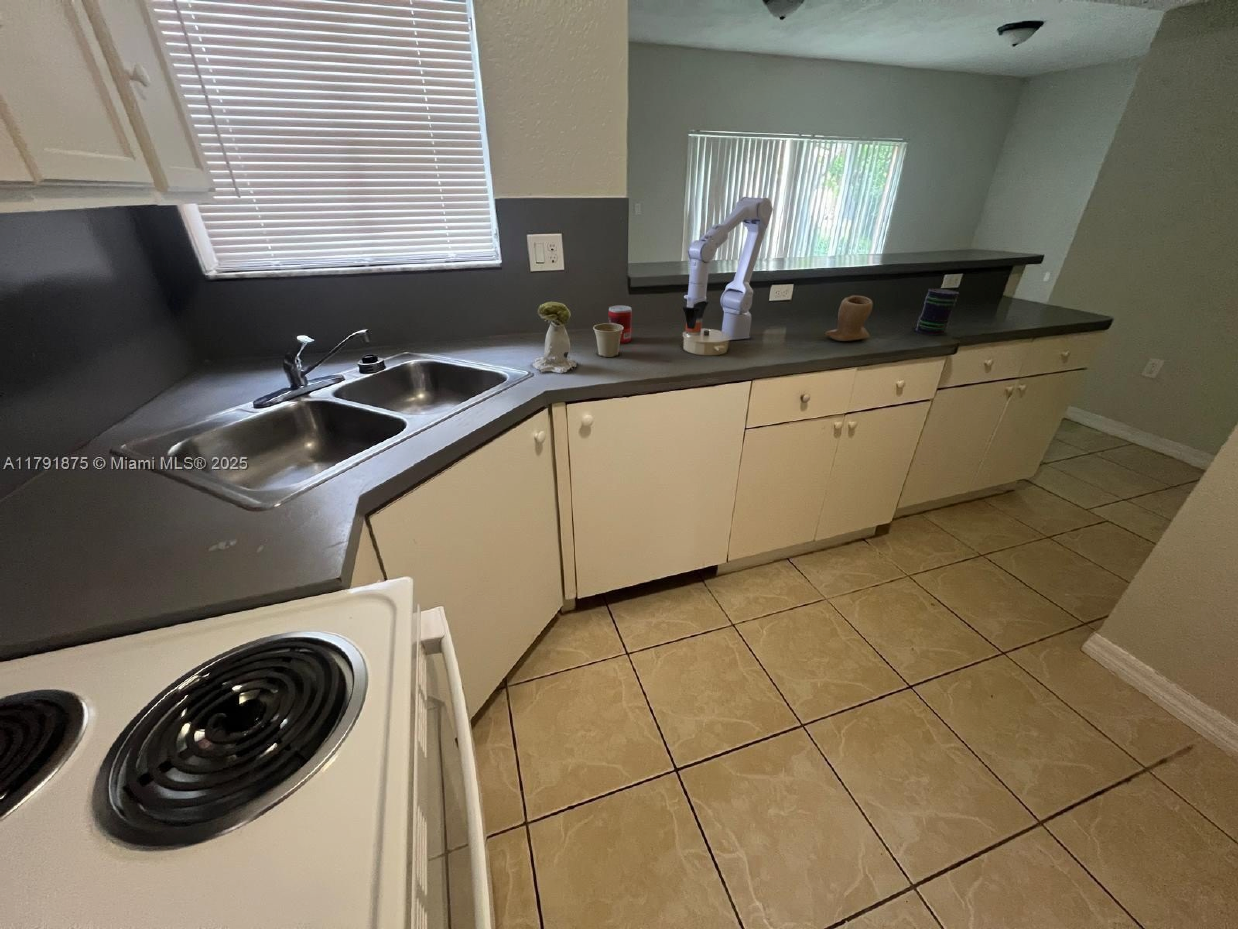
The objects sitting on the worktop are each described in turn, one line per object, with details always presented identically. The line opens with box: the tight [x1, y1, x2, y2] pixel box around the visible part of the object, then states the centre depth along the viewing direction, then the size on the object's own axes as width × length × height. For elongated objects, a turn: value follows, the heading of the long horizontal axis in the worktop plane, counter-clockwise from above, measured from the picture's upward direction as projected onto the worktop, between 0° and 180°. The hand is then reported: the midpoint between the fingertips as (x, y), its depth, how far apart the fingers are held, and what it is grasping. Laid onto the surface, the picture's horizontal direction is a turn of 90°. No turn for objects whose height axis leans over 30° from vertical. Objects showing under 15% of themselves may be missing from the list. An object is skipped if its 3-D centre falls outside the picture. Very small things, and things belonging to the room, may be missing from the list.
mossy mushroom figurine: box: [532, 301, 578, 374], centre depth 139 cm, size 12×13×18 cm
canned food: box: [608, 304, 633, 345], centre depth 165 cm, size 8×8×11 cm
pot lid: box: [682, 328, 731, 344], centre depth 159 cm, size 16×16×3 cm
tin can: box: [685, 317, 703, 335], centre depth 160 cm, size 5×5×5 cm
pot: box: [682, 336, 730, 356], centre depth 161 cm, size 15×20×4 cm
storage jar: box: [915, 287, 960, 336], centre depth 182 cm, size 10×10×15 cm
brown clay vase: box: [825, 295, 873, 342], centre depth 170 cm, size 15×12×15 cm
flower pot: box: [592, 322, 623, 358], centre depth 152 cm, size 9×9×9 cm
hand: (693, 325), depth 160 cm, fingers open, 7 cm apart
